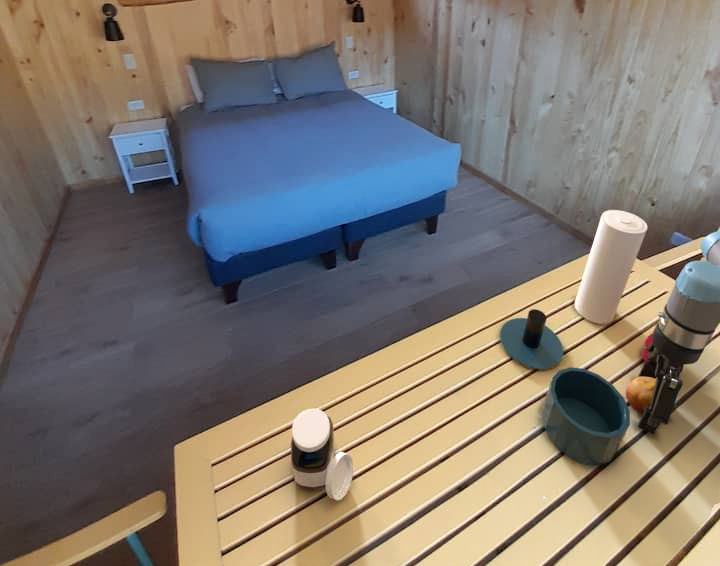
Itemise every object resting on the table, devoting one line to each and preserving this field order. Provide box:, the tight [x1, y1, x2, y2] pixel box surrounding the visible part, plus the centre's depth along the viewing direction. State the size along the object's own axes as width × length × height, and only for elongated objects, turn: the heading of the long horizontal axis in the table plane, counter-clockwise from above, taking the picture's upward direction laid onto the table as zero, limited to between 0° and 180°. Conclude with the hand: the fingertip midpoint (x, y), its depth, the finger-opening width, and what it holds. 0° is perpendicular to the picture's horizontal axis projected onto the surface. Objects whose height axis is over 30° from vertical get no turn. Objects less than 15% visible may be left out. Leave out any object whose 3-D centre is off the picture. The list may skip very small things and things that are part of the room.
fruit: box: [625, 376, 675, 417], centre depth 84 cm, size 8×8×8 cm
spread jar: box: [290, 408, 354, 501], centre depth 74 cm, size 12×11×12 cm
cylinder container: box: [574, 209, 648, 325], centre depth 102 cm, size 9×9×30 cm
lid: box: [499, 308, 564, 371], centre depth 97 cm, size 15×15×10 cm
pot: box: [541, 366, 631, 467], centre depth 80 cm, size 14×14×10 cm
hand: (644, 405), depth 85 cm, fingers open, 10 cm apart
